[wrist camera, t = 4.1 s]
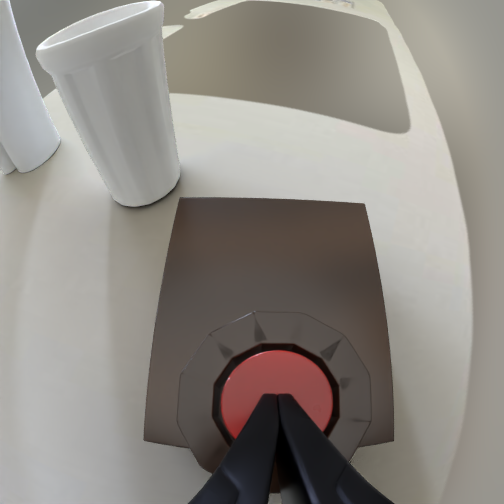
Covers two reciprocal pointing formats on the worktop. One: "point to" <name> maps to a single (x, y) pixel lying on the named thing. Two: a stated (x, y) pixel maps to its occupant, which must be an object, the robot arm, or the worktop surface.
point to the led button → (275, 387)
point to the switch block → (268, 317)
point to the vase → (21, 105)
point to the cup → (119, 98)
